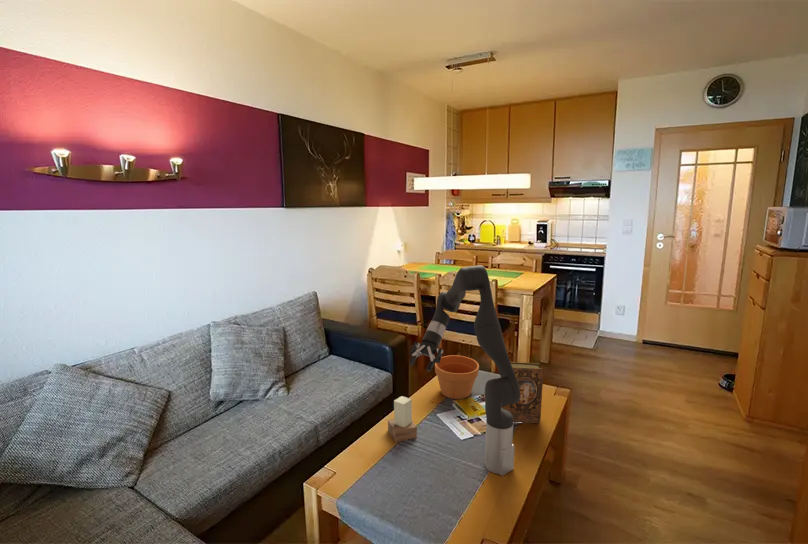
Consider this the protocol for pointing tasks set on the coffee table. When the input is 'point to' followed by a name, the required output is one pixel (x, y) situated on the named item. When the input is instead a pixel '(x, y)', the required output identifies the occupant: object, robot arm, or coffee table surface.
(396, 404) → the cream rectangular block
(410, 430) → the walnut base block
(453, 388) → the flower pot
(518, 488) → the coffee table surface
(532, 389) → the book
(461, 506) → the coffee table surface
